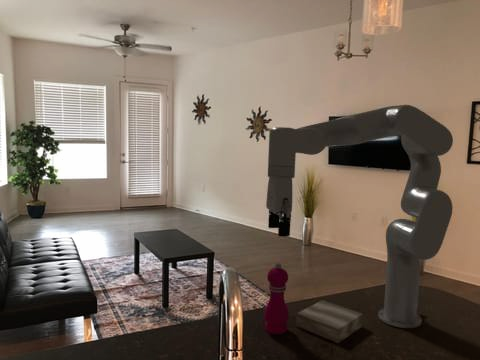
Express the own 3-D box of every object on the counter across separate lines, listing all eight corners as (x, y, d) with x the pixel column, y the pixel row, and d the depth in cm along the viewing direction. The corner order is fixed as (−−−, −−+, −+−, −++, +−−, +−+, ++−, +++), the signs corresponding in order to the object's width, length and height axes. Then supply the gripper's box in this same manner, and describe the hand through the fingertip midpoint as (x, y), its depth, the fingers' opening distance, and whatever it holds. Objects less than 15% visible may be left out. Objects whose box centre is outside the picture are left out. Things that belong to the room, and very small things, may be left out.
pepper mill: (287, 336, 116) (289, 267, 114) (261, 333, 118) (263, 265, 115) (289, 325, 123) (291, 260, 121) (265, 322, 125) (267, 258, 122)
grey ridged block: (321, 312, 133) (322, 300, 133) (362, 326, 124) (362, 313, 123) (296, 326, 123) (296, 313, 122) (338, 343, 113) (338, 329, 113)
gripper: (260, 168, 123) (258, 225, 125) (277, 174, 106) (274, 240, 108) (284, 169, 124) (282, 224, 126) (305, 175, 108) (301, 239, 110)
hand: (278, 231), depth 117 cm, fingers open, 9 cm apart
